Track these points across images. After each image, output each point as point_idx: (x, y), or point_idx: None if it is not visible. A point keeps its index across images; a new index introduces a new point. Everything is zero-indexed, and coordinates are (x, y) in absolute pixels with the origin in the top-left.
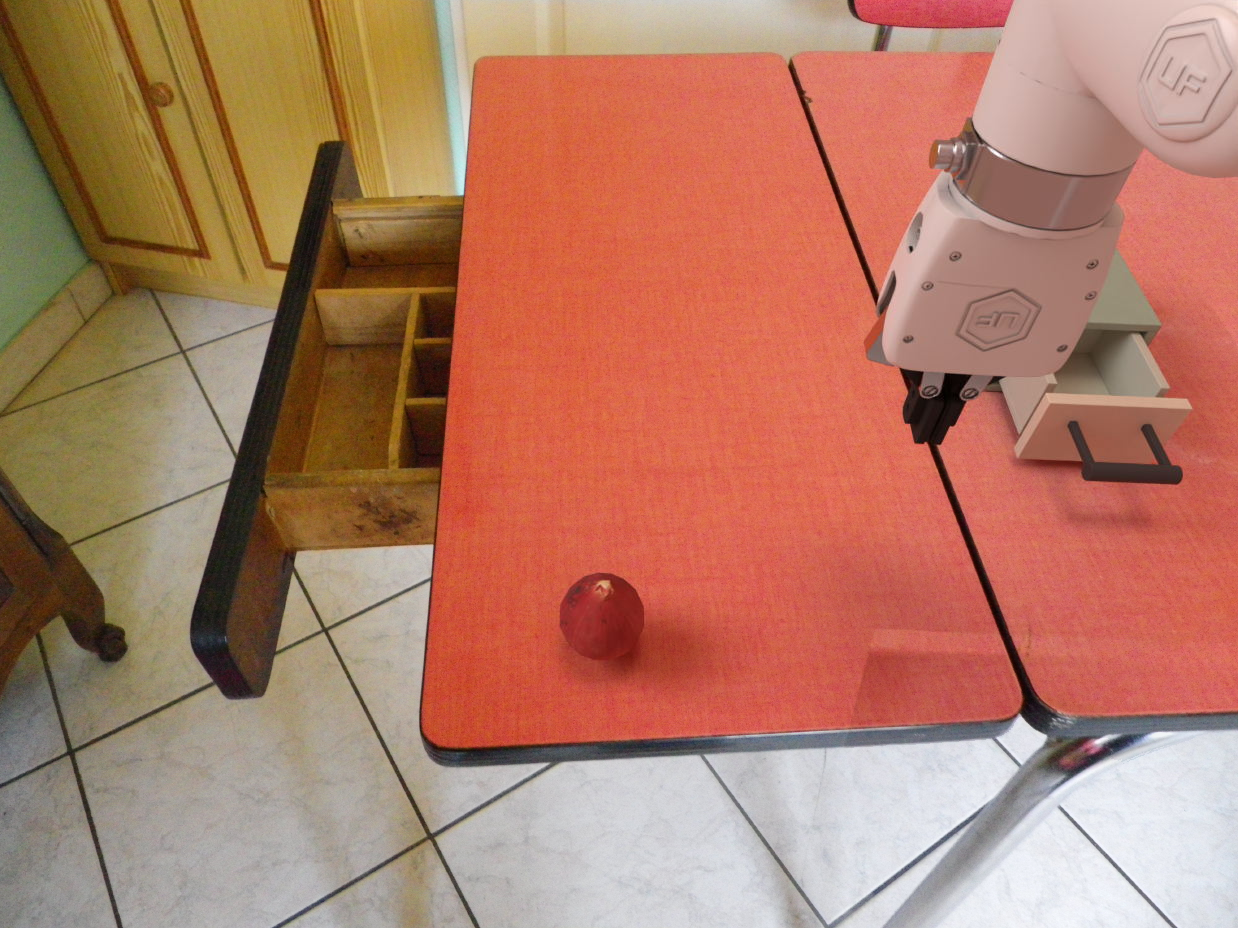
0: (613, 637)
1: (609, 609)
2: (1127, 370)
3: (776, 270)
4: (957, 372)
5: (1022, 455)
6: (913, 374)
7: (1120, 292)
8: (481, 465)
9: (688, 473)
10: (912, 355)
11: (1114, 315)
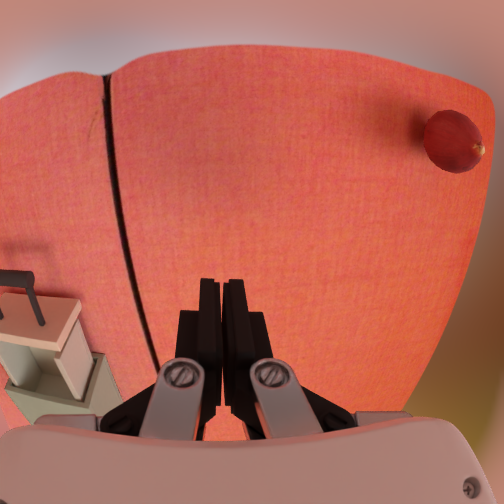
0: (460, 116)
1: (473, 133)
2: (18, 360)
3: (238, 426)
4: (291, 447)
5: (75, 301)
6: (313, 404)
7: (30, 412)
8: (455, 273)
9: (345, 277)
10: (438, 457)
11: (29, 400)
